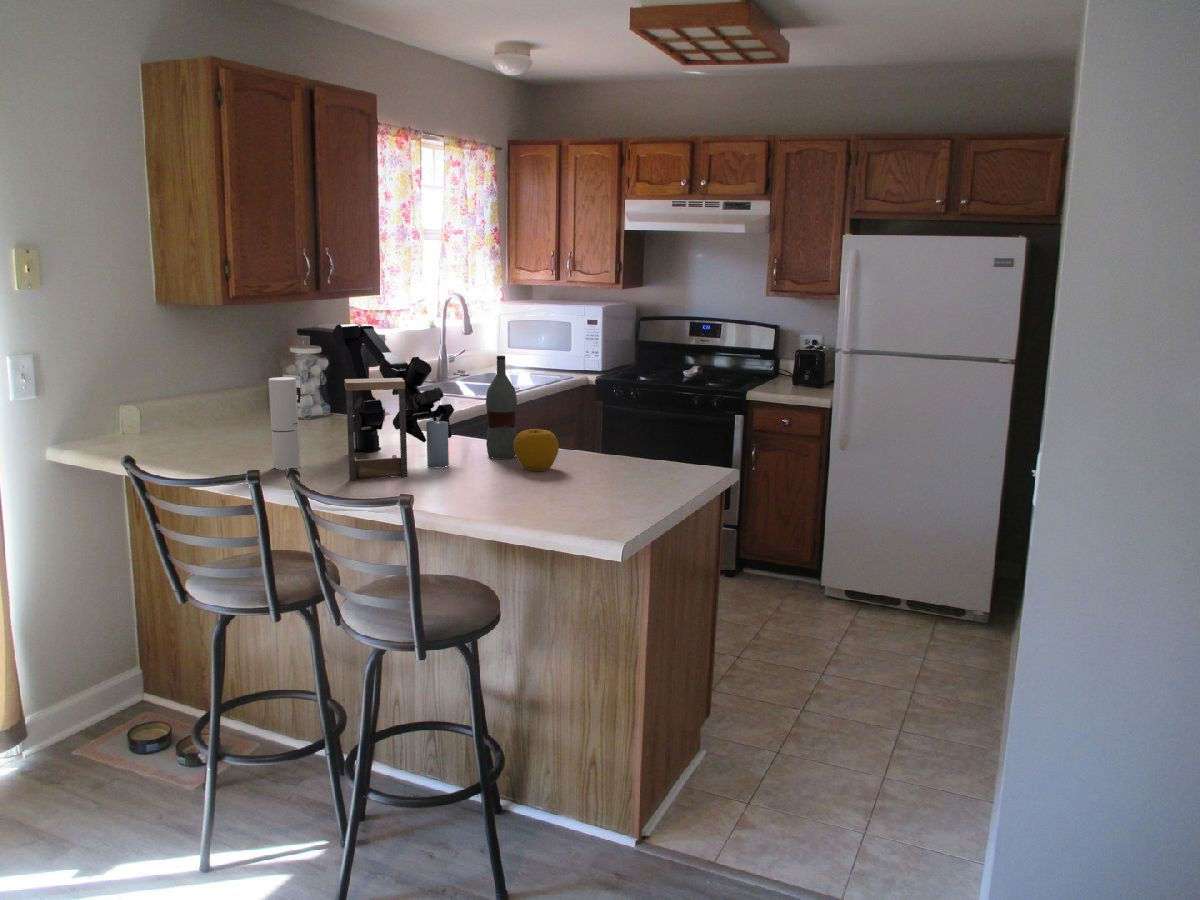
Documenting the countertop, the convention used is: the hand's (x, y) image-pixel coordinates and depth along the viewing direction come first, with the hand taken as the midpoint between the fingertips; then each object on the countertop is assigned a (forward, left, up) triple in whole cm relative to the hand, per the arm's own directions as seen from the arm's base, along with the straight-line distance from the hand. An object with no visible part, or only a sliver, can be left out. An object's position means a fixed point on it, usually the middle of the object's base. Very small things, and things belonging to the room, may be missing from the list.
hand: (438, 439), depth 273 cm
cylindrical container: (-38, -18, -8) cm, 43 cm away
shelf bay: (-11, -15, -8) cm, 20 cm away
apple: (+27, +7, -8) cm, 29 cm away
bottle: (+10, +20, -8) cm, 23 cm away
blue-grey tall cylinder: (0, 0, -8) cm, 8 cm away
